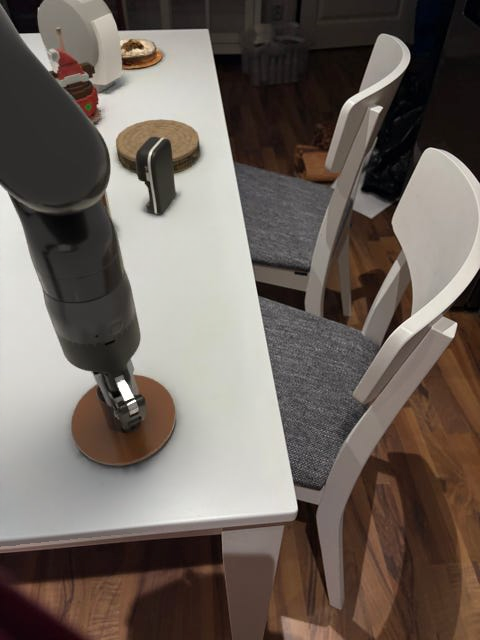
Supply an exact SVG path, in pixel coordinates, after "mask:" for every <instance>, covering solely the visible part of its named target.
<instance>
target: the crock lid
mask: <svg viewBox="0 0 480 640" xmlns="http://www.w3.org/2000/svg"><path fill="white" fill-rule="evenodd" d="M133 375H134V378H135V381H136V385H137V388H138V394H141V395H142V396H144V398H145V404H146V419H145V420H143V421H140V426H139V428H138V429H136V430H134V431H132V432H130V433H122V431H121V429H120V427H119V423H118V420H117V417H115V415H114V413H115V412H114V410H113V407H112V406H108V404H107V403H106V401H105V399H104V397H103V394H102V391H101V389H100V387H99V386H98V385H97V384H95V385H93V386H92V387H91V388H90V389H88V391H87V392H85V393H84V394H83V396H81V398H80V399H79V401H78V402H77V404H76V406H75V407H74V409H73V413H72V416H71V421H70V422H71V423H70V424H71V425H70V426H71V427H70V429H71V434H72V438H73V441H74V442H75V445H76V446H77V448H78V449H79V451H80V452H81V453H82V454H83V455H85V456H86V457H87V458H88V459H90V460H92V461H94V462H96V463H99V464H102V465H106V466H114V467H115V466H127V465H132V464H136V463H138V462H141V461H143V460H145V459H148V458H149V457H151V456H152V455H154V454H155V453H156V452H158V451H159V449H161V448H162V447H163V446H164V445H165V444H166V442H167V441H168V440H169V438H170V437H171V434H172V432H173V430H174V427H175V424H176V419H177V418H176V415H177V414H176V412H177V411H176V405H175V402H174V399H173V397H172V395H171V393H170V392H169V391H168V389H167V388H166V387H165V386H164V385H162V383H160V382H158V381H156V380H155V379H153V378H150V377H148V376H144V375H139V374H133ZM107 390H108V389H107ZM108 392H111V391H109V390H108Z"/></svg>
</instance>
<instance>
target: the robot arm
mask: <svg viewBox="0 0 480 640" xmlns="http://www.w3.org/2000/svg"><path fill="white" fill-rule="evenodd" d="M49 71H50V70H48V68H47V67H46V66H45V65H44V63H42V61H41V60H40V59H39V57H37V55H35V53H34V52H33V51H32V50H31V49H30V47H29V46H28V45H27V43H26V42H25V41H24V39H23V38H22V36H21V35H20V33H19V31H18V30H17V28H16V27H15V24H14V23H13V22H12V19H11V18H10V16H9V15H8V13H7V12H6V10H5V9H4V7H3V5H2V4H1V3H0V186H1V187H2V189H4V191H6V193H7V194H8V197H9V199H10V201H11V203H12V206H13V207H14V211H15V212H16V215H17V216H18V218H19V219H18V220H19V221H20V224H21V227H22V230H23V233H24V237H25V241H26V245H27V250H28V253H29V257H30V259H31V263H32V265H33V268H34V270H35V273H36V276H37V278H38V281H39V284H40V287H41V290H42V294H43V300H44V305H45V308H46V311H47V313H48V316H49V319H50V321H51V324H52V327H53V329H54V332H55V335H56V337H57V340H58V343H59V345H60V347H61V350H62V353H63V356H64V358H65V359H66V361H68V362H69V364H71V365H72V366H73V367H75V368H77V369H79V370H83V371H86V372H90V373H91V375H92V378H93V380H94V382H95V383H96V385H98V386H99V387H100V389H101V391H102V394H103V397H104V399H105V401H106V403H107V404H108V406H112V407H113V410H114V412H115V413H114V415H115V417H117V420H118V423H119V427H120V429H121V431H122V433H130V432H132V431H134V430H136V429H138V428H139V426H140V421H143V420H145V419H146V404H145V398H144V396H142V395H141V394H138V388H137V385H136V381H135V378H134V375H135V374H134V372H135V367H134V364H133V361H132V358H133V356H134V355H135V354H136V352H137V351H138V349H139V347H140V343H141V337H142V334H141V329H140V324H139V319H138V314H137V313H138V312H137V308H136V304H135V299H134V294H133V289H132V284H131V281H130V278H129V276H128V273H127V272H126V268H125V264H124V260H123V255H122V249H121V245H120V241H119V237H118V232H117V229H116V227H115V224H114V221H113V218H112V219H111V217H110V215H109V213H108V212H107V210H106V208H105V206H104V205H103V203H102V201H101V197H102V196H103V194H104V192H105V191H106V192H107V189H108V186H109V182H110V178H111V173H112V172H111V170H112V169H111V165H112V164H111V156H110V152H109V151H110V150H109V148H108V145H107V143H106V140H105V139H104V137H103V135H102V133H101V132H100V130H99V129H98V128H97V126H96V125H95V124H94V122H93V123H92V121H91V120H90V119H89V117H88V116H87V115H86V113H85V112H84V111H83V109H82V108H81V107H80V105H79V104H78V103H77V101H76V100H75V99H74V98H73V97H72V96H71V94H70V93H69V92H67V91H66V90H65V89H64V88H63V87H61V85H60V84H59V83H58V82H57V81H56V79H55V78H54V77H53V76H52V75H51V73H50V72H49ZM107 389H108V390H109V391H111V392H108V390H107Z"/></svg>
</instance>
